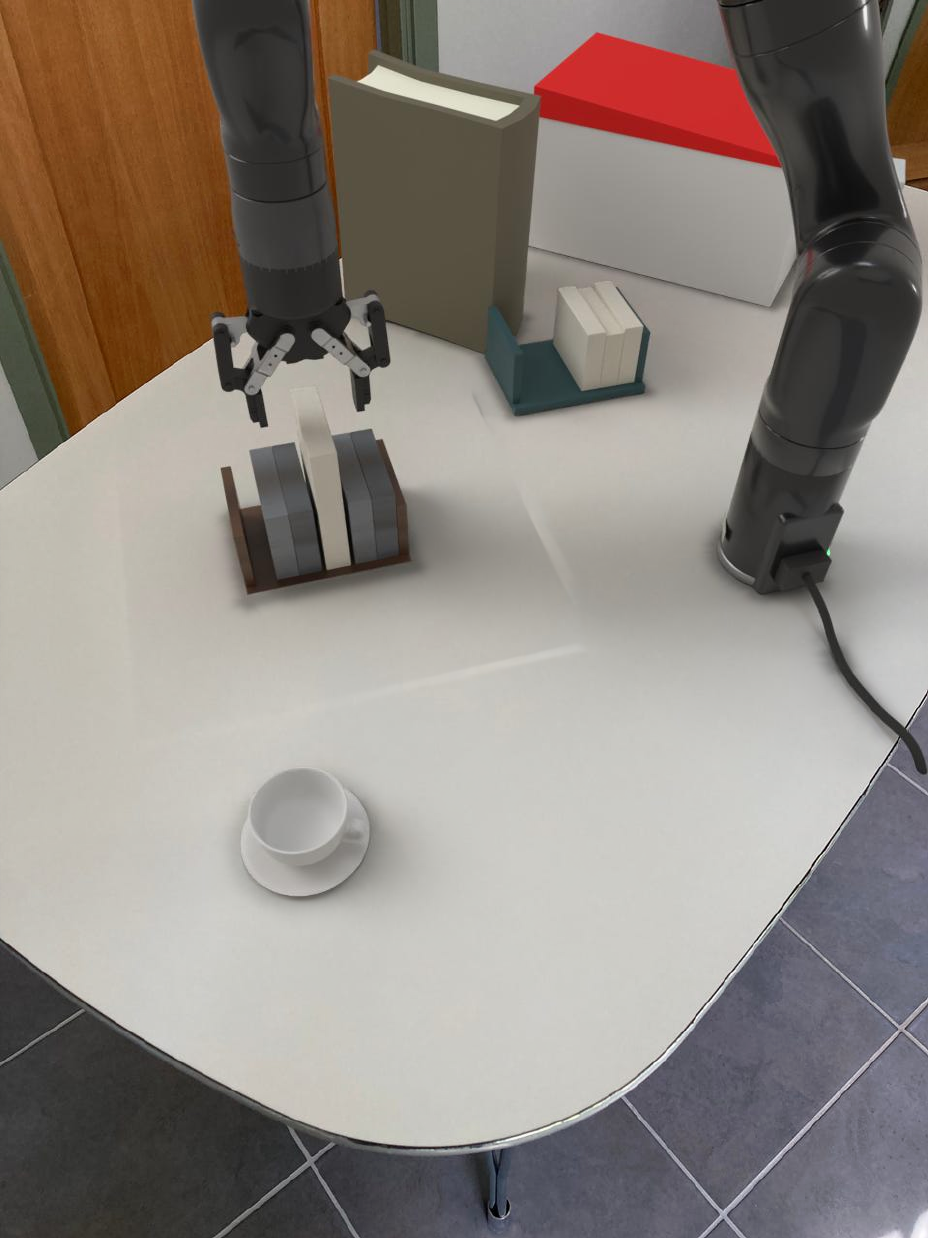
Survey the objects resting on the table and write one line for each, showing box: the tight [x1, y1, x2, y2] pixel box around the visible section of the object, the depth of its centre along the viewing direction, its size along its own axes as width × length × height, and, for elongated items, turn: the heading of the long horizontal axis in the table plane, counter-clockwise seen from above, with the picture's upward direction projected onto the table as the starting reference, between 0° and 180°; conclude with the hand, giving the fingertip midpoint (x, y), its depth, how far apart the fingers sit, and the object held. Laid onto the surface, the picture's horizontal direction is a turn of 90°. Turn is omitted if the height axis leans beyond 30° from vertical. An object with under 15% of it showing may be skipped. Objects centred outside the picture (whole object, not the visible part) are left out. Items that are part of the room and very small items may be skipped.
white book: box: [290, 384, 351, 570], centre depth 90 cm, size 10×2×14 cm, turn 16°
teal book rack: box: [484, 280, 651, 417], centre depth 111 cm, size 12×16×8 cm
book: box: [327, 49, 541, 355], centre depth 112 cm, size 22×9×28 cm, turn 62°
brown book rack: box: [220, 428, 413, 595], centre depth 92 cm, size 12×16×9 cm
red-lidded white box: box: [528, 31, 796, 308], centre depth 127 cm, size 21×35×21 cm, turn 63°
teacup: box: [240, 765, 371, 897], centre depth 73 cm, size 10×10×5 cm
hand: (311, 414), depth 84 cm, fingers open, 8 cm apart
